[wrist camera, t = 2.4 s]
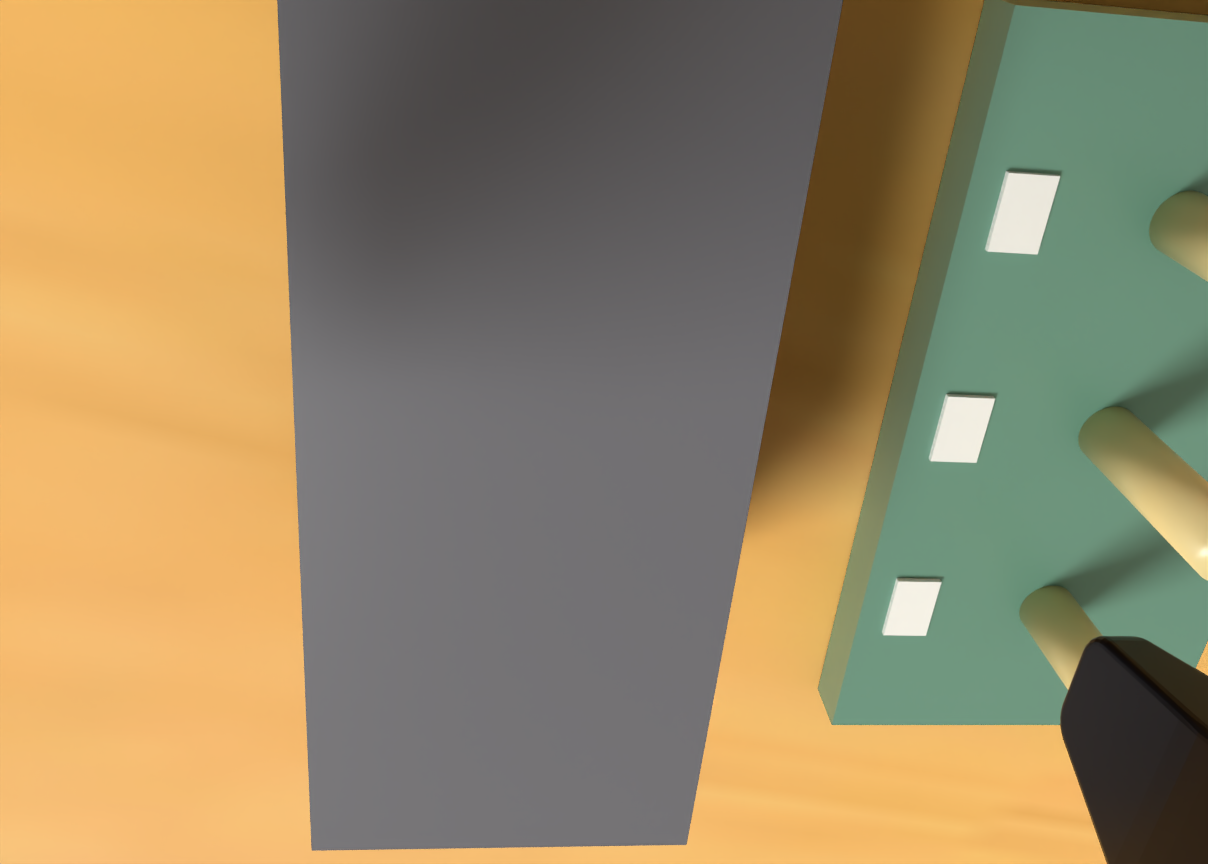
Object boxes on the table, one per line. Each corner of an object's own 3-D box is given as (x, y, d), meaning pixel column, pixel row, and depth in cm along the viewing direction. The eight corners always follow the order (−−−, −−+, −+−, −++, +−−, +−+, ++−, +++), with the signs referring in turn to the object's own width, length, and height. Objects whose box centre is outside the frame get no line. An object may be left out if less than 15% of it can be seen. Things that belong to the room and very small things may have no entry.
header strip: (985, -5, 16) (1151, 54, 12) (1420, 35, 17) (1703, 101, 13) (818, 689, 22) (891, 876, 18) (1144, 690, 23) (1281, 869, 19)
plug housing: (344, -194, 14) (269, -196, 9) (729, -153, 15) (867, -132, 10) (354, 577, 20) (311, 850, 15) (631, 581, 21) (686, 844, 15)
